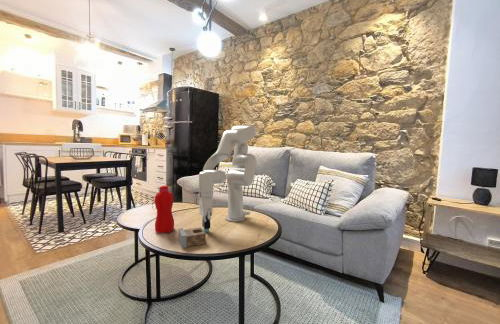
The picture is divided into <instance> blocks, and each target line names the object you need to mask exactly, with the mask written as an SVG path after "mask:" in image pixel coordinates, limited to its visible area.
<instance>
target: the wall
mask: <svg viewBox="0 0 500 324" xmlns="http://www.w3.org/2000/svg"><path fill="white" fill-rule="evenodd" d="M184 230H185V229H184V228H183V227H182V228H178V232H177V233H178V242H179V245H180V247H181V249H187V248H188V247H187V237H186V234H185V232H184Z"/></svg>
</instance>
